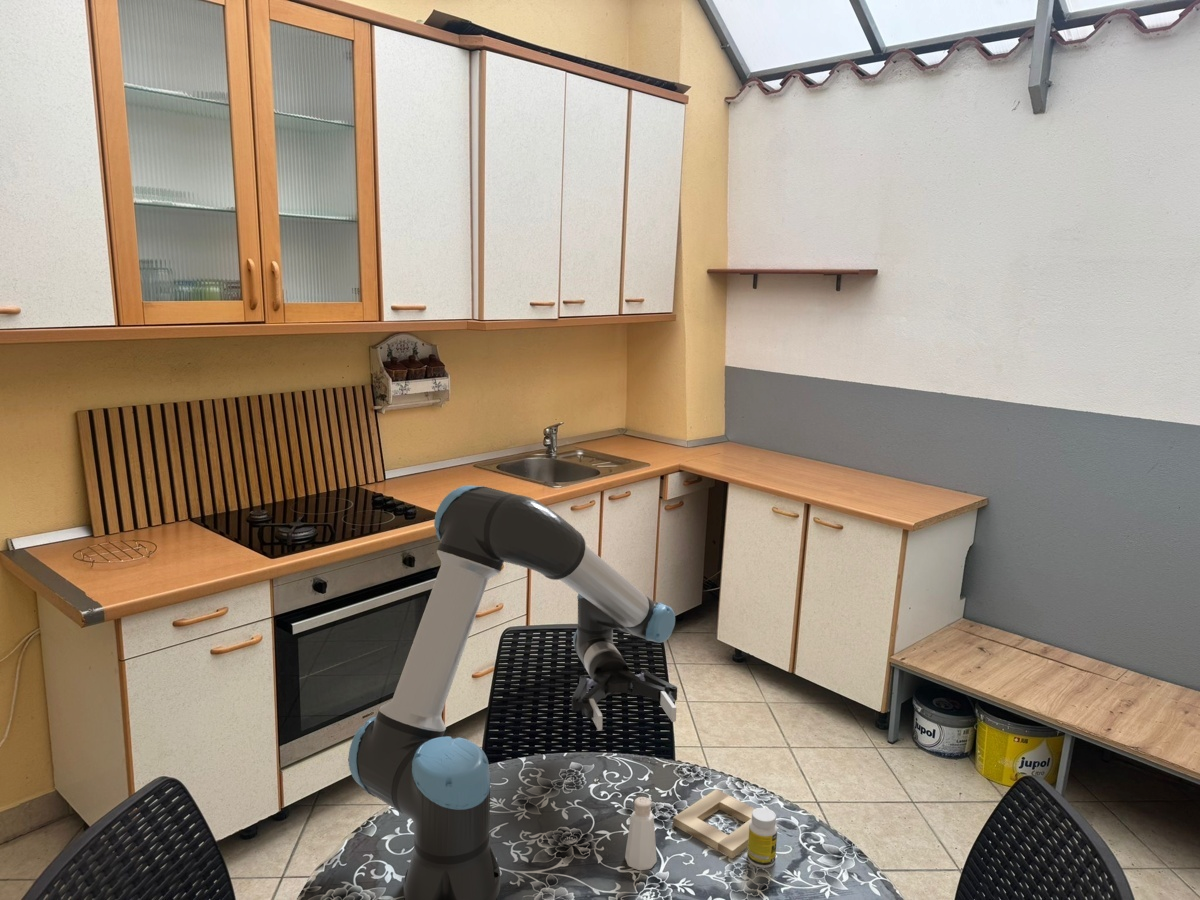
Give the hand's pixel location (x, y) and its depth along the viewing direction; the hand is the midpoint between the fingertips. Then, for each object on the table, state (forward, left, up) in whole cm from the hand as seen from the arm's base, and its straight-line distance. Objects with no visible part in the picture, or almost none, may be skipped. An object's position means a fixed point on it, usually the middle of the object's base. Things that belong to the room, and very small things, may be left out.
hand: (637, 719), depth 146 cm
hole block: (+11, +12, -20) cm, 26 cm away
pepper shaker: (+7, -6, -21) cm, 23 cm away
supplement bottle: (+21, +9, -21) cm, 31 cm away
